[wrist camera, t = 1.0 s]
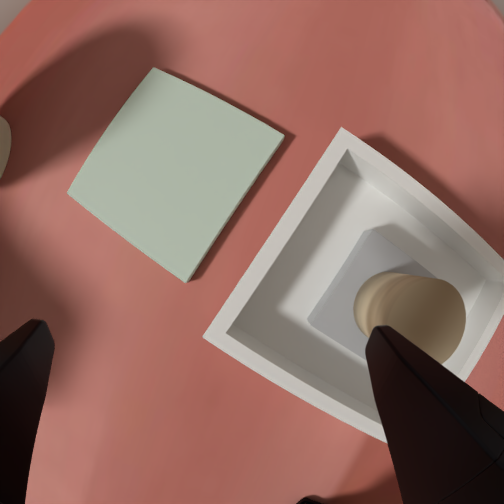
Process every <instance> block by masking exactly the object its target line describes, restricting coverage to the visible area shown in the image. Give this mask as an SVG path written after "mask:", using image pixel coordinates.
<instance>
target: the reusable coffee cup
mask: <svg viewBox="0 0 504 504" xmlns="http://www.w3.org/2000/svg"><path fill="white" fill-rule="evenodd" d="M10 148H11V130H10V126H9V124H8V122H7V121H6V120H5V119H4V118H3V117H1V116H0V178H1V176H2V174H3V172H4V170H5V167H6V165H7V161H8V158H9V154H10Z"/></svg>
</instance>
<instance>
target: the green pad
mask: <svg viewBox="0 0 504 504" xmlns="http://www.w3.org/2000/svg"><path fill="white" fill-rule="evenodd" d="M284 136H285V135H283V134H282V133H280V132H278V131H277V130H275V129H273V128H271V127H270V126H268V125H266V124H265V123H263V122H261V121H259V120H258V119H256V118H254V117H252V116H250V115H249V114H247V113H245V112H243V111H241V110H240V109H238V108H236V107H234V106H232V105H230V104H228V103H226V102H225V101H223V100H221V99H219V98H217V97H215V96H213V95H211V94H209V93H207V92H205V91H203V90H201V89H199V88H197V87H195V86H193V85H191V84H189V83H187V82H185V81H183V80H181V79H178V78H176V77H174V76H172V75H170V74H168V73H165V72H163V71H161V70H159V69H156V68H154V67H153V68H152V70H151V71H150V72H149V73H148V74H147V76H146V77H145V78H144V79H143V81H142V82H141V83H140V84H139V86H138V87H137V88H136V89H135V91H134V92H133V93H132V95H131V96H130V97H129V98H128V100H127V101H126V102H125V104H124V105H123V106H122V108H121V109H120V111H119V112H118V113H117V115H116V116H115V117H114V119H113V120H112V122H111V123H110V125H109V126H108V127H107V129H106V130H105V132H104V133H103V135H102V136H101V138H100V139H99V141H98V142H97V144H96V145H95V147H94V148H93V150H92V152H91V153H90V155H89V156H88V158H87V159H86V161H85V163H84V164H83V166H82V168H81V169H80V171H79V173H78V174H77V176H76V178H75V179H74V181H73V183H72V185H71V186H70V188H69V190H68V192H67V194H68V195H70V196H71V197H72V198H73V199H75V200H76V201H77V202H78V203H79V204H81V205H82V206H83V207H84V208H86V209H87V210H88V211H90V212H91V213H92V214H93V215H95V216H96V217H97V218H98V219H100V220H101V221H102V222H104V223H105V224H106V225H107V226H109V227H110V228H111V229H113V230H114V231H115V232H117V233H118V234H119V235H120V236H122V237H123V238H124V239H126V240H127V241H128V242H130V243H131V244H132V245H134V246H135V247H136V248H138V249H139V250H140V251H142V252H143V253H144V254H146V255H147V256H149V257H150V258H151V259H153V260H154V261H155V262H157V263H158V264H159V265H161V266H162V267H164V268H165V269H166V270H168V271H169V272H171V273H172V274H173V275H175V276H176V277H178V278H179V279H180V280H182V281H183V282H185V283H187V282H189V280H190V279H191V277H192V276H193V274H194V273H195V271H196V270H197V268H198V266H199V265H200V263H201V262H202V260H203V259H204V257H205V256H206V254H207V253H208V251H209V249H210V248H211V246H212V245H213V243H214V242H215V240H216V239H217V237H218V236H219V234H220V233H221V231H222V230H223V228H224V227H225V225H226V224H227V222H228V221H229V219H230V218H231V216H232V215H233V213H234V212H235V210H236V209H237V207H238V206H239V204H240V203H241V201H242V200H243V198H244V197H245V195H246V194H247V192H248V191H249V189H250V188H251V186H252V185H253V184H254V182H255V181H256V179H257V178H258V176H259V175H260V173H261V172H262V170H263V169H264V167H265V166H266V165H267V163H268V162H269V160H270V159H271V157H272V156H273V154H274V153H275V152H276V150H277V149H278V147H279V146H280V144H281V143H282V142H283V140H284Z"/></svg>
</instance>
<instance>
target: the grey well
mask: <svg viewBox="0 0 504 504" xmlns="http://www.w3.org/2000/svg"><path fill="white" fill-rule="evenodd" d="M382 272H395V273H402V274H408V275H415V276H422V277H429V278H436V279H441V280H445V281H447V282H449V283H450V284H451V285H453V286H454V287H455V288H456V289H457V290H458V292H459V293H460V295H461V297H462V299H463V302H464V305H465V310H466V325H465V330H464V334H463V337H462V339H461V342H460V344H459V346H458V347H457V349H456V350H455V352H454V353H453V354H452V355H451V357H450V358H449V359H448V360H447V361H445V362H444V363H443V364H442V365H443V366H444V367H445V368H447V369H448V370H449V371H451V372H452V373H453V374H455V375H456V376H457V377H459V378H460V379H461V380H463V381H464V382H465V381H466V379H467V378H468V376H469V374H470V373H471V371H472V370H473V368H474V367H475V365H476V363H477V362H478V360H479V358H480V357H481V355H482V353H483V352H484V350H485V348H486V346H487V345H488V343H489V341H490V339H491V337H492V336H493V334H494V332H495V330H496V328H497V326H498V324H499V322H500V321H501V319H502V317H503V315H504V260H503V259H502V258H501V256H500V255H499V254H498V253H497V252H496V251H495V250H494V249H493V248H492V247H491V246H490V245H489V244H488V243H487V242H486V241H485V240H484V239H482V238H481V237H480V236H479V235H478V234H477V233H476V232H475V231H474V230H473V229H472V228H471V227H470V226H469V225H468V224H467V223H465V222H464V221H463V220H462V219H461V218H460V217H459V216H458V215H457V214H456V213H454V212H453V211H452V210H451V209H450V208H449V207H448V206H446V205H445V204H444V203H443V202H442V201H441V200H439V199H438V198H437V197H436V196H435V195H433V194H432V193H431V192H430V191H429V190H427V189H426V188H425V187H424V186H422V185H421V184H420V183H419V182H417V181H416V180H415V179H414V178H412V177H411V176H410V175H408V174H407V173H406V172H404V171H403V170H402V169H401V168H399V167H398V166H397V165H395V164H394V163H393V162H391V161H390V160H388V159H387V158H386V157H384V156H383V155H382V154H380V153H379V152H377V151H376V150H374V149H373V148H372V147H370V146H369V145H367V144H366V143H364V142H363V141H361V140H360V139H359V138H357V137H356V136H354V135H353V134H351V133H350V132H348V131H346V130H345V129H343V128H342V127H341V128H340V130H339V131H338V133H337V134H336V136H335V138H334V139H333V141H332V142H331V144H330V145H329V147H328V148H327V150H326V151H325V153H324V154H323V156H322V157H321V159H320V160H319V162H318V163H317V165H316V166H315V168H314V169H313V171H312V173H311V174H310V176H309V177H308V179H307V180H306V182H305V183H304V185H303V186H302V188H301V189H300V191H299V192H298V194H297V195H296V197H295V198H294V200H293V201H292V203H291V204H290V206H289V207H288V209H287V210H286V212H285V213H284V215H283V216H282V218H281V219H280V221H279V222H278V224H277V226H276V227H275V229H274V230H273V232H272V233H271V235H270V236H269V238H268V239H267V241H266V242H265V244H264V245H263V247H262V248H261V250H260V251H259V253H258V254H257V256H256V257H255V259H254V260H253V262H252V263H251V265H250V266H249V268H248V269H247V271H246V272H245V274H244V275H243V277H242V278H241V280H240V281H239V283H238V284H237V286H236V287H235V289H234V290H233V292H232V293H231V295H230V296H229V298H228V299H227V301H226V302H225V304H224V305H223V307H222V308H221V310H220V311H219V313H218V314H217V316H216V317H215V319H214V320H213V322H212V323H211V325H210V326H209V328H208V329H207V331H206V332H205V334H204V335H203V338H204V339H206V340H207V341H209V342H210V343H212V344H213V345H215V346H216V347H218V348H219V349H221V350H222V351H224V352H225V353H227V354H229V355H230V356H232V357H233V358H235V359H236V360H238V361H239V362H241V363H243V364H244V365H246V366H247V367H249V368H251V369H252V370H254V371H255V372H257V373H259V374H260V375H262V376H263V377H265V378H267V379H268V380H270V381H272V382H273V383H275V384H277V385H278V386H280V387H282V388H284V389H285V390H287V391H289V392H290V393H292V394H294V395H296V396H297V397H299V398H301V399H303V400H304V401H306V402H308V403H310V404H312V405H313V406H315V407H317V408H319V409H321V410H322V411H324V412H326V413H328V414H330V415H332V416H334V417H336V418H337V419H339V420H341V421H343V422H345V423H347V424H349V425H351V426H353V427H355V428H357V429H359V430H361V431H363V432H365V433H367V434H369V435H371V436H373V437H375V438H377V439H379V440H381V441H383V442H386V443H387V440H386V437H385V433H384V430H383V426H382V423H381V420H380V416H379V413H378V410H377V407H376V403H375V399H374V395H373V390H372V385H371V380H370V375H369V370H368V365H367V360H366V356H365V347H366V344H367V342H368V339H369V338H368V337H367V336H365V335H364V334H363V333H362V332H361V331H360V329H359V328H358V326H357V324H356V322H355V319H354V312H353V306H354V300H355V297H356V295H357V292H358V290H359V289H360V287H361V286H362V284H363V283H364V282H365V281H366V280H368V279H369V278H370V277H372V276H374V275H376V274H378V273H382Z"/></svg>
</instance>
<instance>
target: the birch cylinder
mask: <svg viewBox="0 0 504 504" xmlns="http://www.w3.org/2000/svg"><path fill="white" fill-rule="evenodd" d="M353 312H354V319H355V322H356V324H357V326H358V328H359V329H360V331H361V332H362V333H363V334H364V335H365V336H367V337H368V338H369V337H370V334H371V332H372V329H373V328H374V327H375V326H378V325H389V326H391V327H392V328H393V329H395V330H396V331H397V332H399V333H400V334H401V335H403V336H404V337H405V338H407V339H408V340H409V341H411V342H412V343H414V344H415V345H416V346H418V347H419V348H420V349H422V350H423V351H424V352H426V353H427V354H428V355H430V356H431V357H432V358H434V359H435V360H436V361H438V362H439V363H440V364H443V363H444V362H445V361H447V360H448V359H449V358H450V357H451V355H452V354H453V353H454V352H455V350H456V349H457V347H458V346H459V344H460V342H461V339H462V337H463V334H464V330H465V325H466V310H465V305H464V302H463V299H462V297H461V295H460V293H459V292H458V290H457V289H456V288H455V287H454V286H453V285H451V284H450V283H449V282H447V281H445V280H441V279H436V278H429V277H422V276H415V275H408V274H402V273H395V272H382V273H378V274H376V275H374V276H372V277H370V278H369V279H368V280H366V281H365V282H364V283H363V284H362V286H361V287H360V289H359V290H358V292H357V295H356V297H355V300H354V306H353Z"/></svg>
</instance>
